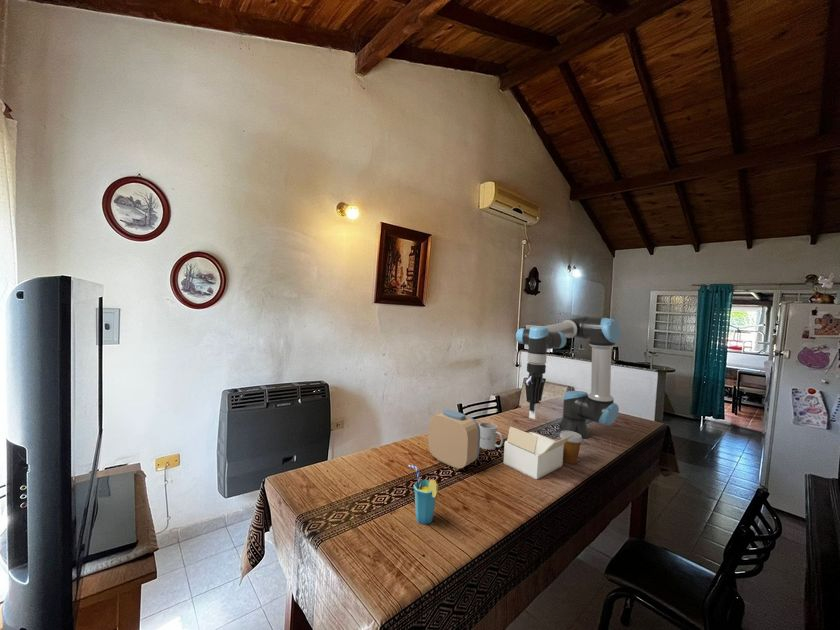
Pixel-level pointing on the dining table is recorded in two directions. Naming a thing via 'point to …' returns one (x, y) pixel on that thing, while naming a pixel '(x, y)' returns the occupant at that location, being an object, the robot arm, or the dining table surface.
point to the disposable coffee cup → (571, 446)
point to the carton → (534, 457)
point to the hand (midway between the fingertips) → (532, 418)
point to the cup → (424, 498)
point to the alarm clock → (454, 438)
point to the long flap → (557, 444)
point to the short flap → (522, 439)
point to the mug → (489, 436)
